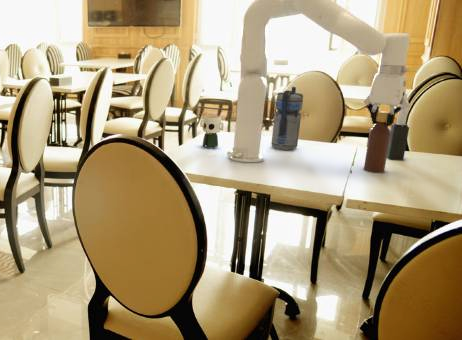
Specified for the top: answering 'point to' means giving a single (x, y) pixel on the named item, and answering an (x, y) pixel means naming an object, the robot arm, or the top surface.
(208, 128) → the toy figurine
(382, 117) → the cap
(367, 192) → the top surface
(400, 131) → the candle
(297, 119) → the beverage bottle
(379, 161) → the sauce bottle
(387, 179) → the top surface
